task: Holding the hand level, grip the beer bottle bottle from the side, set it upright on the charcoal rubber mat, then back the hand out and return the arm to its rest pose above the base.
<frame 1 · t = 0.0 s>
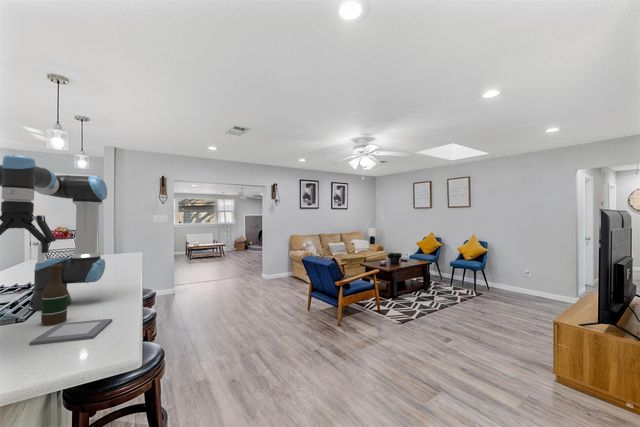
hand: (15, 263, 94), 28 cm above the counter, tool pointing down, fingers open, 13 cm apart
mat: (75, 331, 106), on the counter
beer bottle: (54, 323, 115), on the counter
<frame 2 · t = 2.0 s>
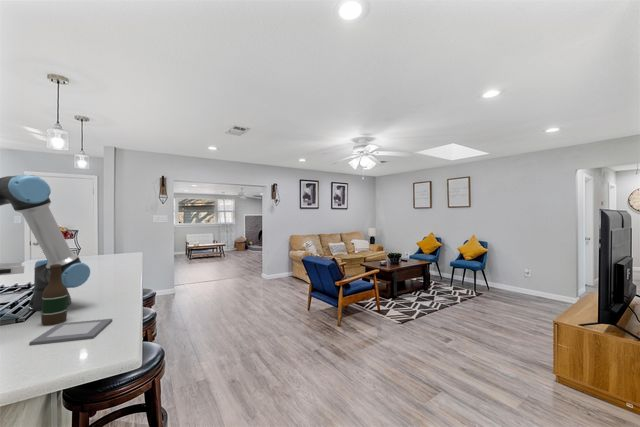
hand: (23, 267, 108), 24 cm above the counter, tool horizontal, fingers open, 13 cm apart
nothing on the counter moved.
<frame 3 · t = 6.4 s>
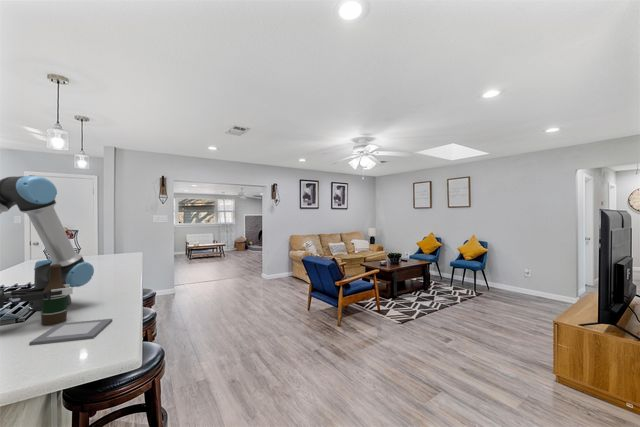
hand: (70, 288, 119), 13 cm above the counter, tool horizontal, fingers closed on beer bottle, 7 cm apart
beer bottle: (54, 322, 115), on the counter, touching gripper
when the fingers open (15 cm above the counter, at t = 12.2 s): beer bottle stays where it is, resting on mat.
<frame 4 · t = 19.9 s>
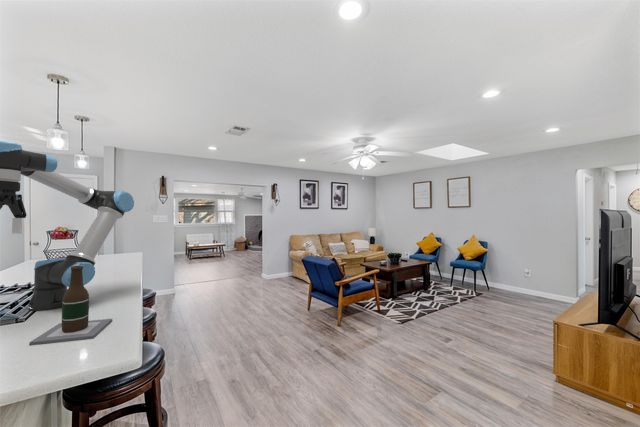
hand: (4, 234, 109), 37 cm above the counter, tool pointing down, fingers open, 13 cm apart
beer bottle: (75, 329, 106), point 1 cm above the counter, touching mat
at the end: beer bottle inside the target area on the mat (0.1 cm from its centre), point 0.9 cm above the mat's base; beer bottle tilted 0°; the gripper is holding nothing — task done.
